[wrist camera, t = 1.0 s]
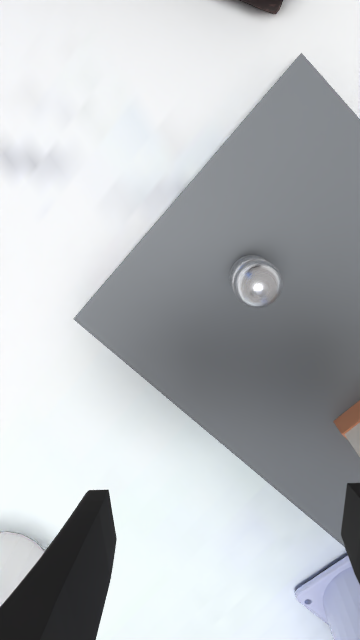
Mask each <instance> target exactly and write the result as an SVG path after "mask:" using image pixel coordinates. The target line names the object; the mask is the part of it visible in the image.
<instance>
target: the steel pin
mask: <svg viewBox="0 0 360 640" xmlns="http://www.w3.org/2000/svg"><path fill="white" fill-rule="evenodd" d="M229 279H230V284H231V286H232V288H233V291H234V293H235V295H236V297H237V298H238V300H239V301H240V302H242V303H243V304H244V305H246V306H248V307H251V308H264V307H267V306H269V305H271V304H272V303H274V302H275V301H276V300H277V298H278V297H279V295H280V294H281V291H282V286H283V281H282V277H281V274H280V272H279V270H278V269H277V268H276V267H275V266H274V265H273V264H271V263H270V262H268V261H267V260H265V259H263V258H262V257H260V256H256V255H247V256H244V257H241V258H240V259H238V260H237V261H236V262H235V263H234V264H233V266H232V268H231V270H230V276H229Z"/></svg>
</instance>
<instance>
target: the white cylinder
mask: <svg viewBox="0 0 360 640" xmlns="http://www.w3.org/2000/svg"><path fill="white" fill-rule="evenodd" d="M44 552H45V551H44V550H43V549H42V548H41V547H40V546H39V545H38V544H37V543H36V542H35V541H33V540H31V539H29V538H27V537H26V536H24V535H22V534H17V533H12V532H0V606H1V605H2V604H3V603H4V602H5V600H6V599H7V598H8V597H9V596H10V595H11V593H12V592H13V591H14V590H15V589H16V587H17V586H18V585H19V584H20V582H21V581H22V580H23V579H24V577H25V576H26V575H27V574H28V573H29V571H30V570H31V569H32V568H33V566H34V565H35V564H36V563H37V561H38V560H39V559H40V557H41V556H42V555H43V553H44Z"/></svg>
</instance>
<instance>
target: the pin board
mask: <svg viewBox="0 0 360 640" xmlns="http://www.w3.org/2000/svg"><path fill="white" fill-rule="evenodd" d="M247 255H256V256H260V257H262V258H263V259H265V260H267V261H268V262H270V263H271V264H273V265H274V266H275V267H276V268H277V269H278V270H279V272H280V274H281V277H282V281H283V286H282V291H281V294H280V295H279V297H278V298H277V300H276V301H275V302H274V303H272V304H271V305H269V306H267V307H264V308H251V307H248V306H246V305H244V304H243V303H242V302H240V301H239V300H238V298H237V297H236V295H235V293H234V291H233V288H232V286H231V284H230V279H229V276H230V270H231V268H232V266H233V264H234V263H235V262H236V261H237V260H238V259H240V258H241V257H244V256H247ZM74 320H75V321H76V322H77V323H79V324H80V325H81V326H82V327H83V328H85V329H86V330H87V331H88V332H89V333H91V334H92V335H93V336H94V337H95V338H96V339H98V340H99V341H100V342H101V343H102V344H104V345H105V346H106V347H107V348H108V349H110V350H111V351H112V352H113V353H114V354H116V355H117V356H118V357H119V358H120V359H122V360H123V361H124V362H125V363H126V364H127V365H129V366H130V367H131V368H132V369H133V370H135V371H136V372H137V373H138V374H139V375H141V376H142V377H143V378H144V379H145V380H147V381H148V382H149V383H150V384H151V385H152V386H154V387H155V388H156V389H157V390H158V391H160V392H161V393H162V394H163V395H164V396H166V397H167V398H168V399H169V400H170V401H172V402H173V403H174V404H175V405H176V406H177V407H179V408H180V409H181V410H182V411H183V412H185V413H186V414H187V415H188V416H189V417H191V418H192V419H193V420H194V421H195V422H197V423H198V424H199V425H200V426H201V427H202V428H204V429H205V430H206V431H207V432H208V433H210V434H211V435H212V436H213V437H214V438H216V439H217V440H218V441H219V442H220V443H222V444H223V445H224V446H225V447H226V448H227V449H229V450H230V451H231V452H232V453H233V454H235V455H236V456H237V457H238V458H239V459H241V460H242V461H243V462H244V463H245V464H247V465H248V466H249V467H250V468H251V469H253V470H254V471H255V472H256V473H257V474H258V475H260V476H261V477H262V478H263V479H264V480H266V481H267V482H268V483H269V484H270V485H272V486H273V487H274V488H275V489H276V490H278V491H279V492H280V493H281V494H282V495H283V496H285V497H286V498H287V499H288V500H289V501H291V502H292V503H293V504H294V505H295V506H297V507H298V508H299V509H300V510H301V511H303V512H304V513H305V514H306V515H307V516H308V517H310V518H311V519H312V520H313V521H314V522H316V523H317V524H318V525H319V526H320V527H322V528H323V529H324V530H325V531H326V532H328V533H329V534H330V535H331V536H332V537H333V538H335V539H336V540H337V541H338V542H339V543H341V544H342V545H343V546H344V547H345V545H344V542H343V539H342V537H341V528H342V520H343V512H344V504H345V496H346V488H347V483H360V457H359V455H358V454H357V452H356V451H355V449H354V448H353V446H352V445H351V443H350V442H349V441H348V440H347V439H346V438H345V437H344V436H343V435H342V434H341V433H340V431H339V429H338V428H337V426H336V425H335V423H334V422H333V421H334V420H336V419H337V418H338V417H339V416H341V415H342V414H343V413H344V412H346V411H347V410H348V409H349V408H351V407H352V406H353V405H354V404H356V403H357V402H358V401H359V400H360V119H359V118H358V117H357V116H356V114H355V113H354V112H353V111H352V110H351V109H350V108H349V106H348V105H347V104H346V103H345V102H344V101H343V100H342V98H341V97H340V96H339V95H338V94H337V93H336V92H335V90H334V89H333V88H332V87H331V86H330V85H329V84H328V83H327V81H326V80H325V79H324V78H323V77H322V76H321V75H320V73H319V72H318V71H317V70H316V69H315V68H314V67H313V65H312V64H311V63H310V62H309V61H308V60H307V59H306V57H305V56H304V55H303V54H302V53H301V54H300V55H299V56H298V58H297V59H296V60H295V61H294V62H293V63H292V65H291V66H290V67H289V68H288V69H287V70H286V72H285V73H284V74H283V75H282V76H281V77H280V79H279V80H278V81H277V82H276V83H275V84H274V86H273V87H272V88H271V89H270V90H269V91H268V93H267V94H266V95H265V96H264V97H263V98H262V100H261V101H260V102H259V103H258V104H257V105H256V107H255V108H254V109H253V110H252V111H251V112H250V114H249V115H248V116H247V117H246V118H245V119H244V121H243V122H242V123H241V124H240V125H239V126H238V128H237V129H236V130H235V131H234V132H233V133H232V135H231V136H230V137H229V138H228V139H227V140H226V142H225V143H224V144H223V145H222V146H221V147H220V149H219V150H218V151H217V152H216V153H215V154H214V156H213V157H212V158H211V159H210V160H209V161H208V163H207V164H206V165H205V166H204V167H203V168H202V170H201V171H200V172H199V173H198V174H197V175H196V177H195V178H194V179H193V180H192V181H191V182H190V184H189V185H188V186H187V187H186V188H185V189H184V191H183V192H182V193H181V194H180V195H179V196H178V198H177V199H176V200H175V201H174V202H173V203H172V205H171V206H170V207H169V208H168V209H167V210H166V212H165V213H164V214H163V215H162V216H161V217H160V219H159V220H158V221H157V222H156V223H155V224H154V226H153V227H152V228H151V229H150V230H149V231H148V233H147V234H146V235H145V236H144V237H143V238H142V240H141V241H140V242H139V243H138V244H137V245H136V247H135V248H134V249H133V250H132V251H131V252H130V254H129V255H128V256H127V257H126V258H125V259H124V261H123V262H122V263H121V264H120V265H119V266H118V268H117V269H116V270H115V271H114V272H113V273H112V275H111V276H110V277H109V278H108V279H107V280H106V282H105V283H104V284H103V285H102V286H101V287H100V289H99V290H98V291H97V292H96V293H95V294H94V296H93V297H92V298H91V299H90V300H89V301H88V303H87V304H86V305H85V306H84V307H83V308H82V310H81V311H80V312H79V313H78V314H77V315H76V317H75V318H74Z"/></svg>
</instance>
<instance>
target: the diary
mask: <svg viewBox="0 0 360 640" xmlns="http://www.w3.org/2000/svg"><path fill="white" fill-rule="evenodd" d="M240 1H243V2H245V3H247V4H250V5H252V6H254V7H257V8H259V9H262V10H264V11H267V12H270V13H272V14H276V13H277V12H278V10H279V9H280V7H281V4H282V2H283V0H240Z"/></svg>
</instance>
